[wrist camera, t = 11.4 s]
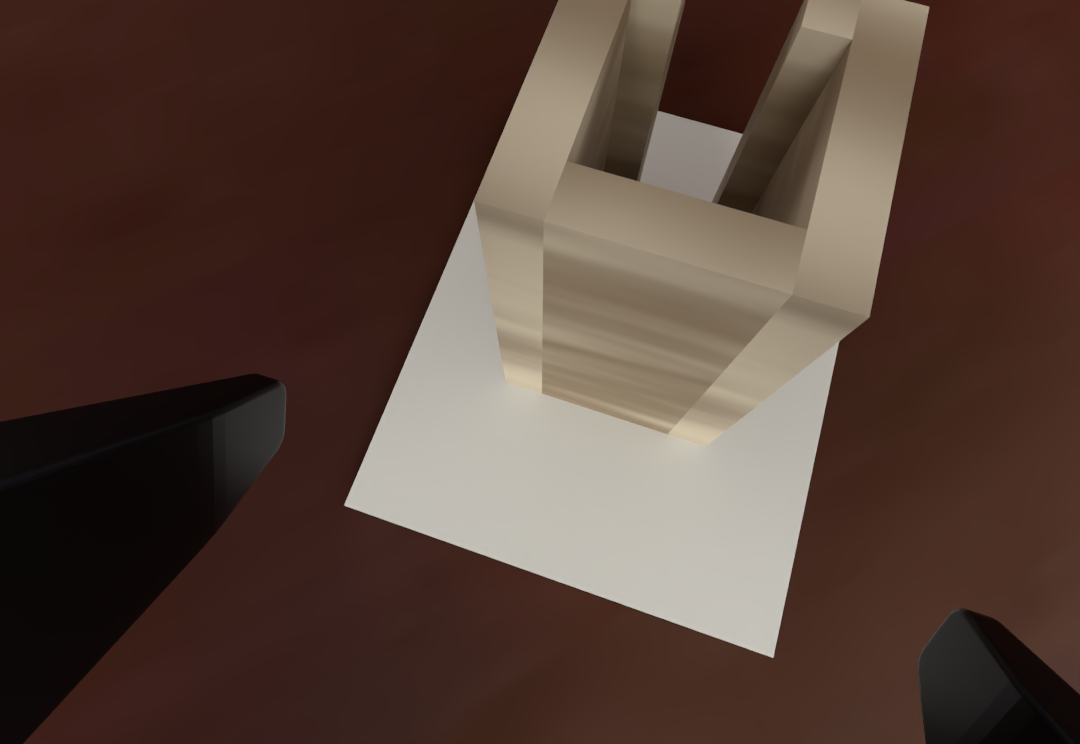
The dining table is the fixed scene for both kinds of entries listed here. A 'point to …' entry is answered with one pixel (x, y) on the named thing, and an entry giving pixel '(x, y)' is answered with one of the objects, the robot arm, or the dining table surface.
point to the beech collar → (691, 214)
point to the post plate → (598, 457)
